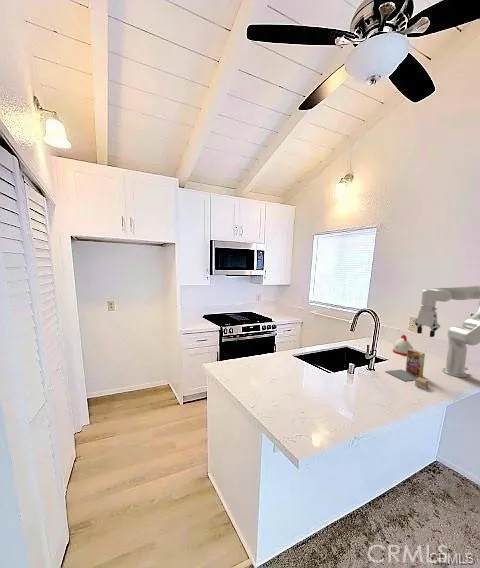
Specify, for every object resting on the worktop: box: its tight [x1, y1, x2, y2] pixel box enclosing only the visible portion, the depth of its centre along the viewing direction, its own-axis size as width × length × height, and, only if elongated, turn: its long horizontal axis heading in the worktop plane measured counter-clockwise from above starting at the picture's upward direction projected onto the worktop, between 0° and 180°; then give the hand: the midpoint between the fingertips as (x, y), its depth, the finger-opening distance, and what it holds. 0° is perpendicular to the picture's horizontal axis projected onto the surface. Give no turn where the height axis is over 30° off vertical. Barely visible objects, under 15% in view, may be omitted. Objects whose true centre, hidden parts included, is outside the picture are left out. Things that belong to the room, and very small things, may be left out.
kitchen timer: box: [392, 334, 414, 357], centre depth 209 cm, size 14×14×15 cm
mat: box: [385, 368, 419, 382], centre depth 165 cm, size 14×14×1 cm
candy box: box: [405, 349, 426, 378], centre depth 167 cm, size 9×4×15 cm, turn 23°
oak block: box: [414, 377, 430, 390], centre depth 150 cm, size 5×5×4 cm
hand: (425, 334), depth 168 cm, fingers open, 7 cm apart
